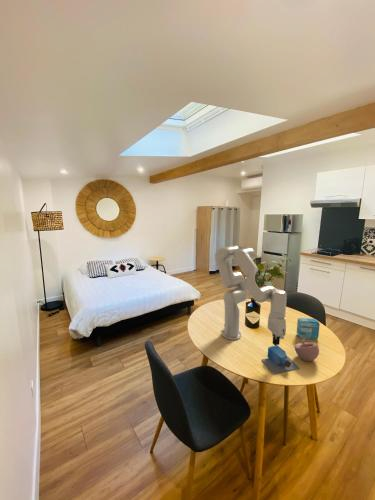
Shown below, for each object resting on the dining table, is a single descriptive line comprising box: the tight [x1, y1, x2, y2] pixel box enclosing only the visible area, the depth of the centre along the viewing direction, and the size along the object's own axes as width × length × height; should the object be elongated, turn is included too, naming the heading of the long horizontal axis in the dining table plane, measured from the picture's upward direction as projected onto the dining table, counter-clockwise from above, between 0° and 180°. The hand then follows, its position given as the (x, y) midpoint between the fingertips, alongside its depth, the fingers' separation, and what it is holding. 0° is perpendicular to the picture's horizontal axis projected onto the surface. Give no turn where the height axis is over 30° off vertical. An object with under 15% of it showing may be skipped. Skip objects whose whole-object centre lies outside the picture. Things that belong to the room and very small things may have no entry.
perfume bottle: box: [267, 345, 291, 367], centre depth 122 cm, size 6×6×12 cm
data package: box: [296, 317, 321, 340], centre depth 147 cm, size 12×4×12 cm, turn 81°
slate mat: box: [260, 355, 301, 375], centre depth 122 cm, size 11×16×1 cm
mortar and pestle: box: [294, 338, 320, 362], centre depth 125 cm, size 12×12×12 cm
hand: (275, 344), depth 123 cm, fingers closed
